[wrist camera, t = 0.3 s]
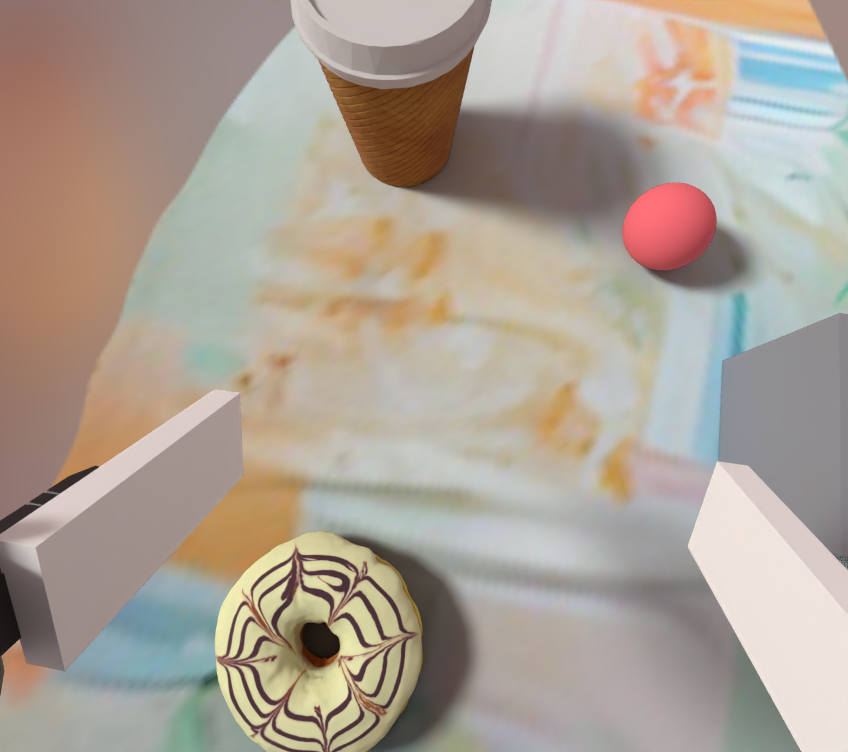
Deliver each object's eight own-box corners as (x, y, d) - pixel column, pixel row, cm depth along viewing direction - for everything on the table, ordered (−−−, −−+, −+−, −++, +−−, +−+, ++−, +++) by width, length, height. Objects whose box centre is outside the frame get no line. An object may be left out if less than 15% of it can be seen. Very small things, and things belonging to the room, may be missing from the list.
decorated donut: (311, 495, 29) (293, 497, 25) (459, 608, 27) (462, 627, 24) (197, 650, 27) (160, 677, 24) (348, 779, 26) (334, 829, 22)
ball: (686, 288, 31) (734, 252, 26) (607, 277, 31) (639, 239, 26) (690, 217, 32) (737, 170, 27) (614, 207, 32) (646, 158, 27)
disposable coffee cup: (470, 84, 34) (489, -121, 23) (477, 206, 32) (501, 51, 21) (336, 90, 34) (285, -111, 23) (335, 211, 32) (278, 61, 21)
